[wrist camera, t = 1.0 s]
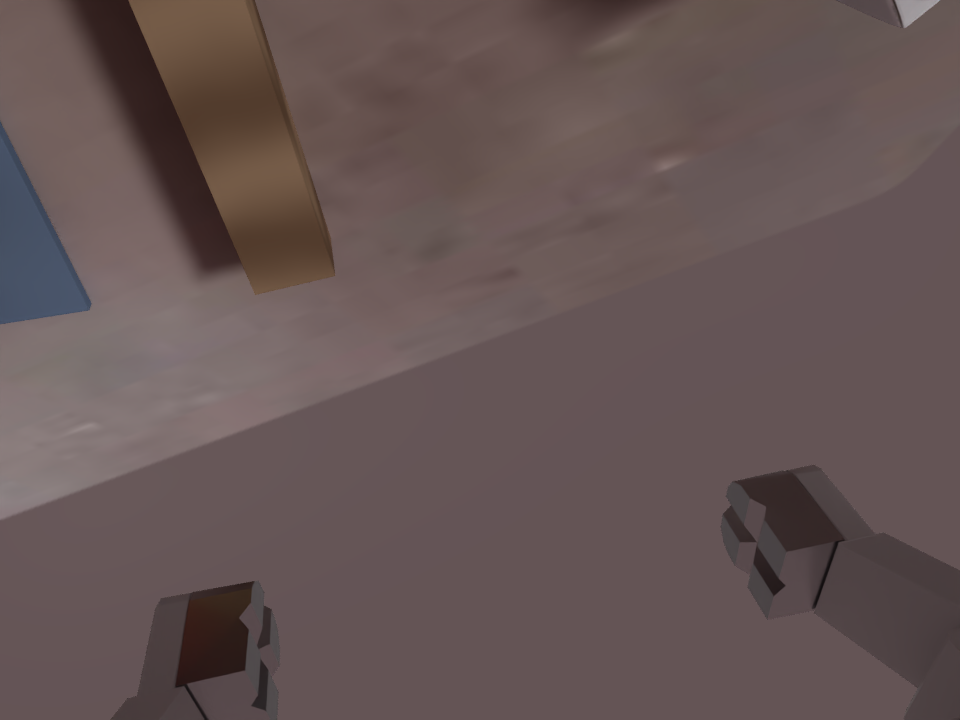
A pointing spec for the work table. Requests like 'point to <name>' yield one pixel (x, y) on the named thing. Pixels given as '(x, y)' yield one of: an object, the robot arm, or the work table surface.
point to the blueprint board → (31, 251)
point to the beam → (241, 135)
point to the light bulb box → (892, 9)
